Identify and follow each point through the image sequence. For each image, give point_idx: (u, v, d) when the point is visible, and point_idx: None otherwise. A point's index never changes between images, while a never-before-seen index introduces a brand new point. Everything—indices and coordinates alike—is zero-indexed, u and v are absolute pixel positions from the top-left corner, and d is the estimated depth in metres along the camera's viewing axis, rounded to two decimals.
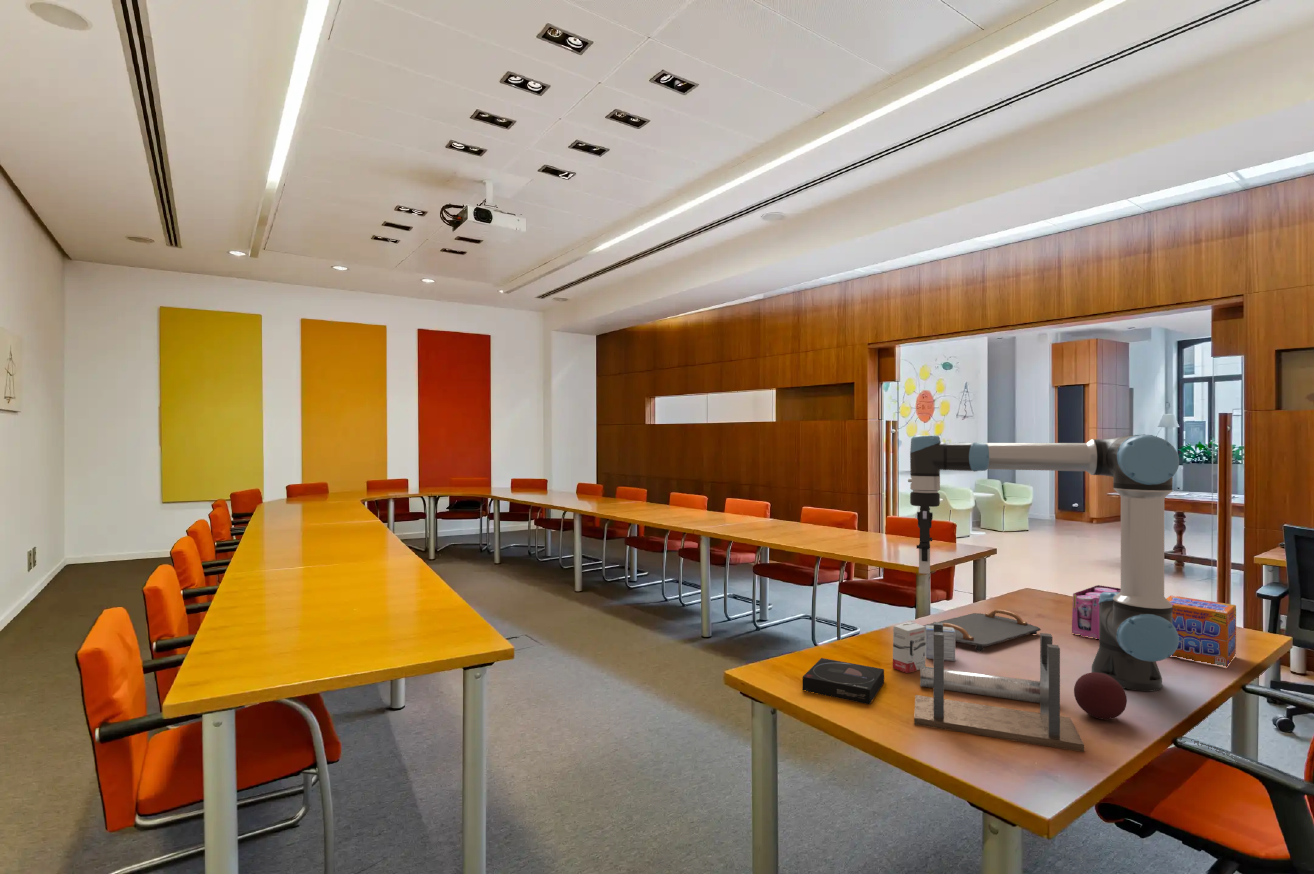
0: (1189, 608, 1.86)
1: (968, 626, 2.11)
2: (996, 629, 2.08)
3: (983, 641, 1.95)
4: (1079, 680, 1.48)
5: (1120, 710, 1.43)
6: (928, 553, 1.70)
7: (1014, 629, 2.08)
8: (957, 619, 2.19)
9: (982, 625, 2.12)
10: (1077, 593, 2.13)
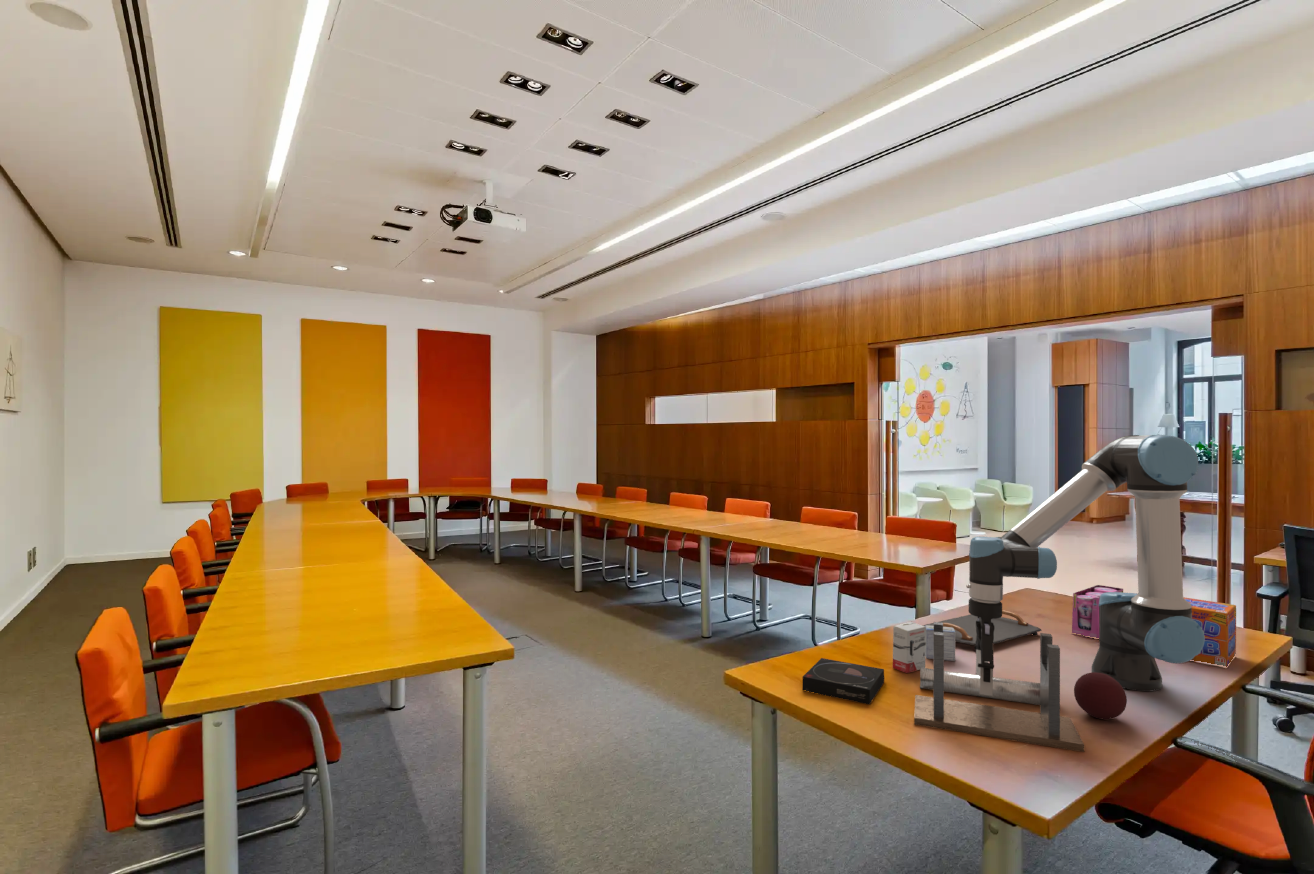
0: None
1: (968, 626, 2.11)
2: (996, 629, 2.08)
3: None
4: (1079, 680, 1.48)
5: (1120, 710, 1.43)
6: (991, 673, 1.54)
7: (1014, 629, 2.08)
8: (958, 619, 2.19)
9: None
10: (1077, 593, 2.14)
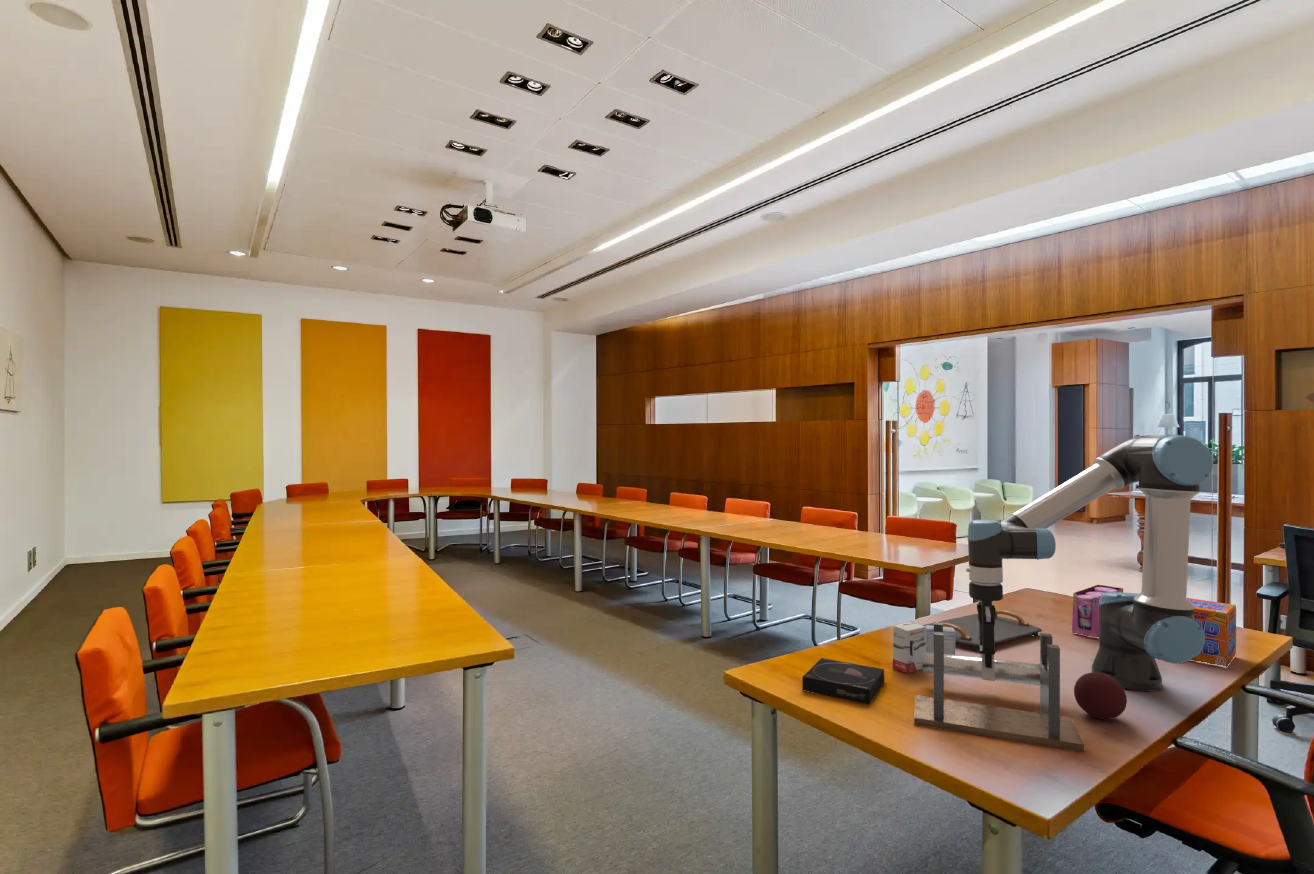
0: None
1: (968, 626, 2.11)
2: (996, 629, 2.07)
3: None
4: (1079, 680, 1.48)
5: (1120, 710, 1.43)
6: (992, 658, 1.57)
7: (1015, 630, 2.07)
8: (958, 619, 2.19)
9: None
10: (1077, 592, 2.14)
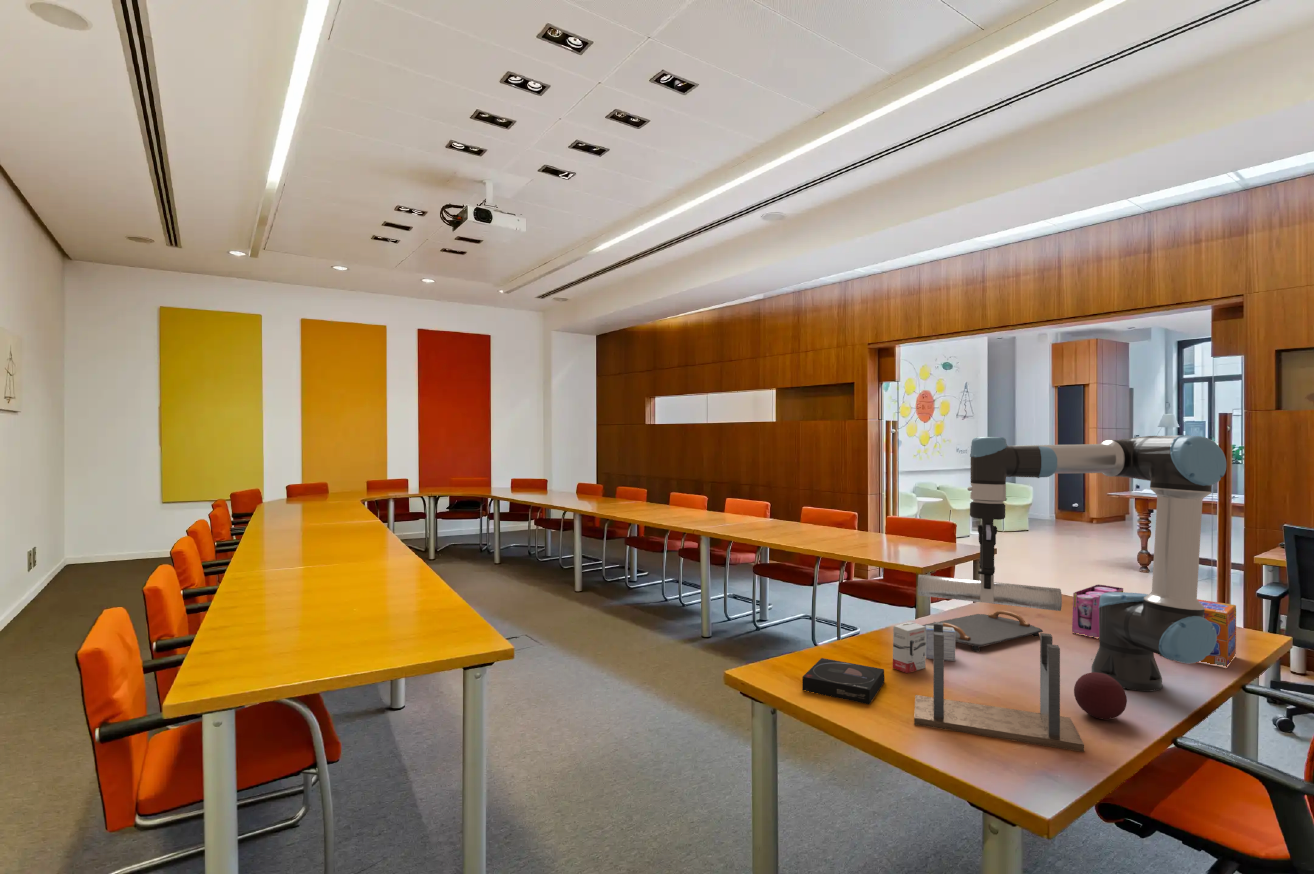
0: None
1: (968, 626, 2.11)
2: (996, 630, 2.07)
3: (980, 641, 1.95)
4: (1079, 680, 1.48)
5: (1120, 710, 1.43)
6: (991, 579, 1.50)
7: (1015, 630, 2.07)
8: (958, 619, 2.19)
9: (983, 626, 2.12)
10: (1077, 592, 2.15)
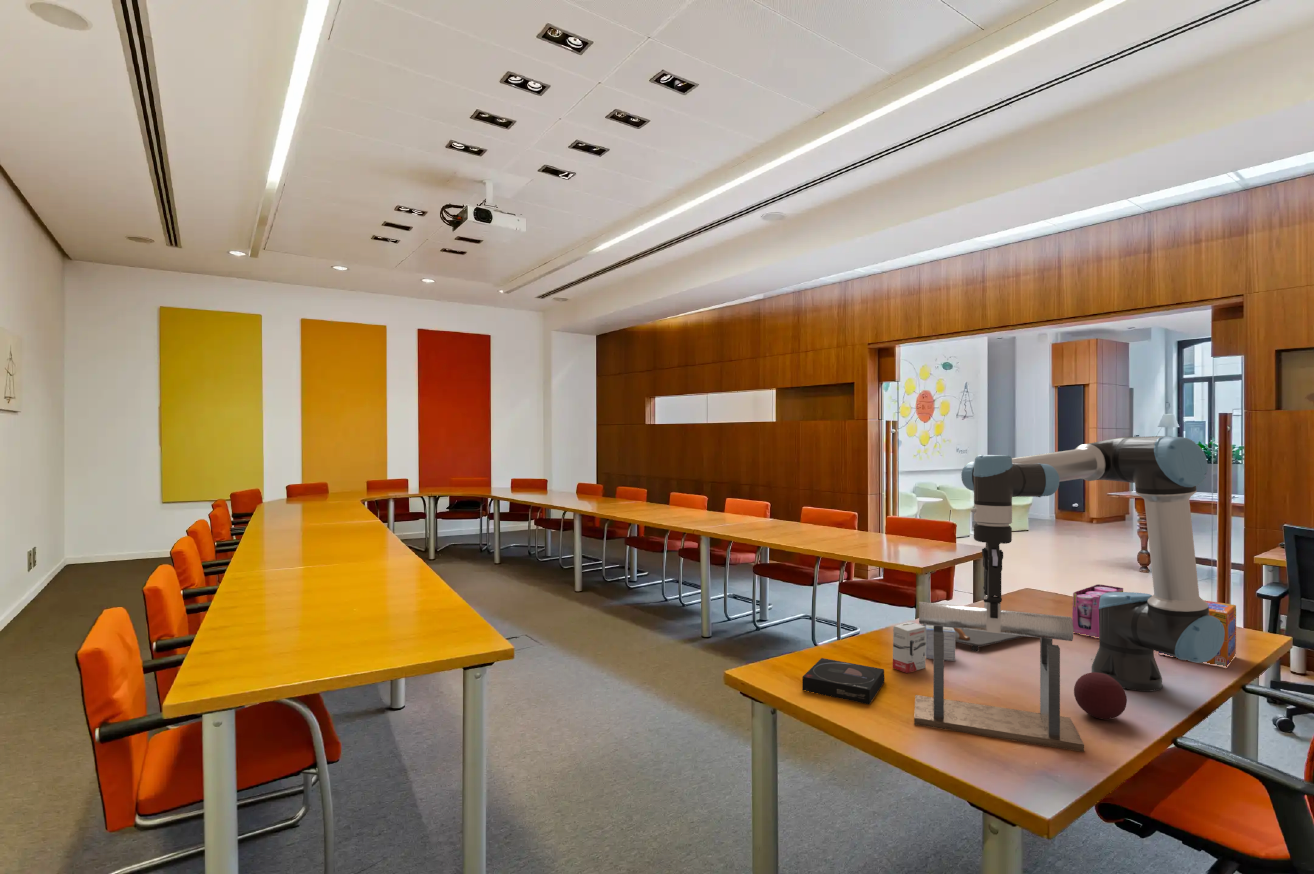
0: None
1: None
2: None
3: (979, 641, 1.95)
4: (1079, 680, 1.48)
5: (1120, 710, 1.43)
6: (998, 608, 1.40)
7: None
8: None
9: None
10: (1077, 592, 2.15)
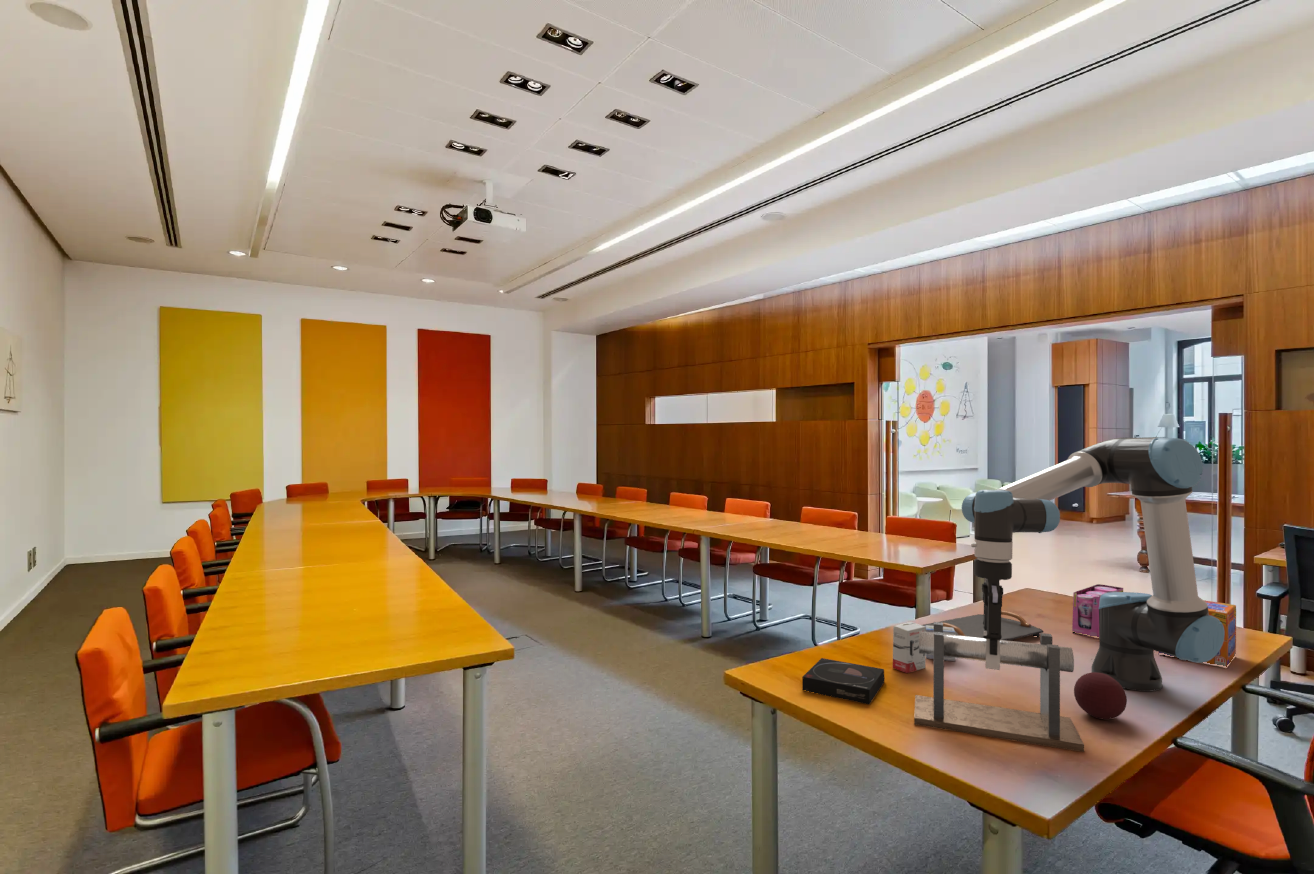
0: None
1: (968, 626, 2.11)
2: None
3: None
4: (1079, 680, 1.48)
5: (1120, 710, 1.43)
6: (998, 645, 1.39)
7: (1015, 630, 2.06)
8: (959, 619, 2.19)
9: (983, 626, 2.11)
10: (1077, 592, 2.15)
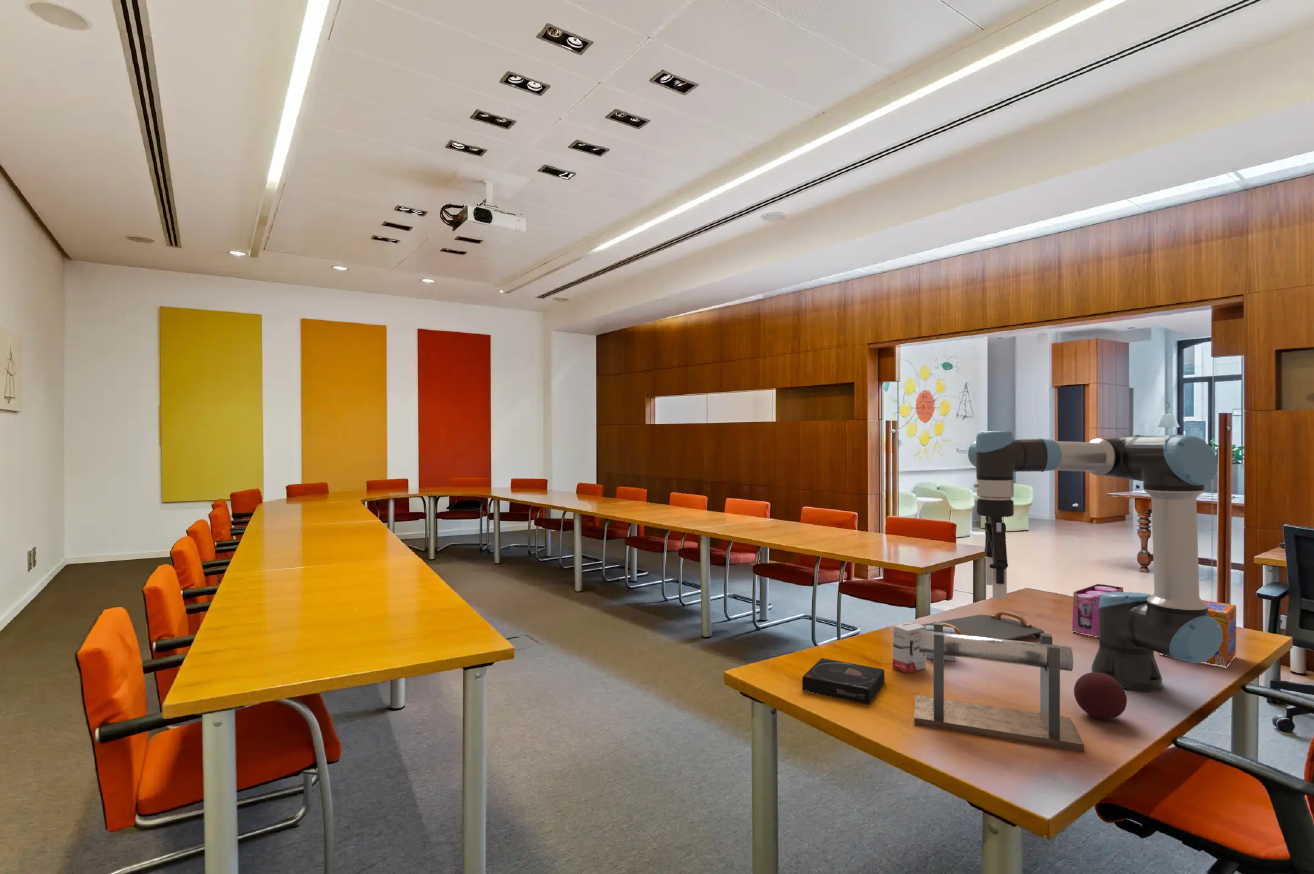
0: None
1: (968, 627, 2.10)
2: (996, 630, 2.06)
3: None
4: (1079, 680, 1.48)
5: (1120, 710, 1.43)
6: (1004, 574, 1.40)
7: (1015, 631, 2.06)
8: (960, 620, 2.19)
9: (983, 626, 2.11)
10: (1077, 592, 2.16)
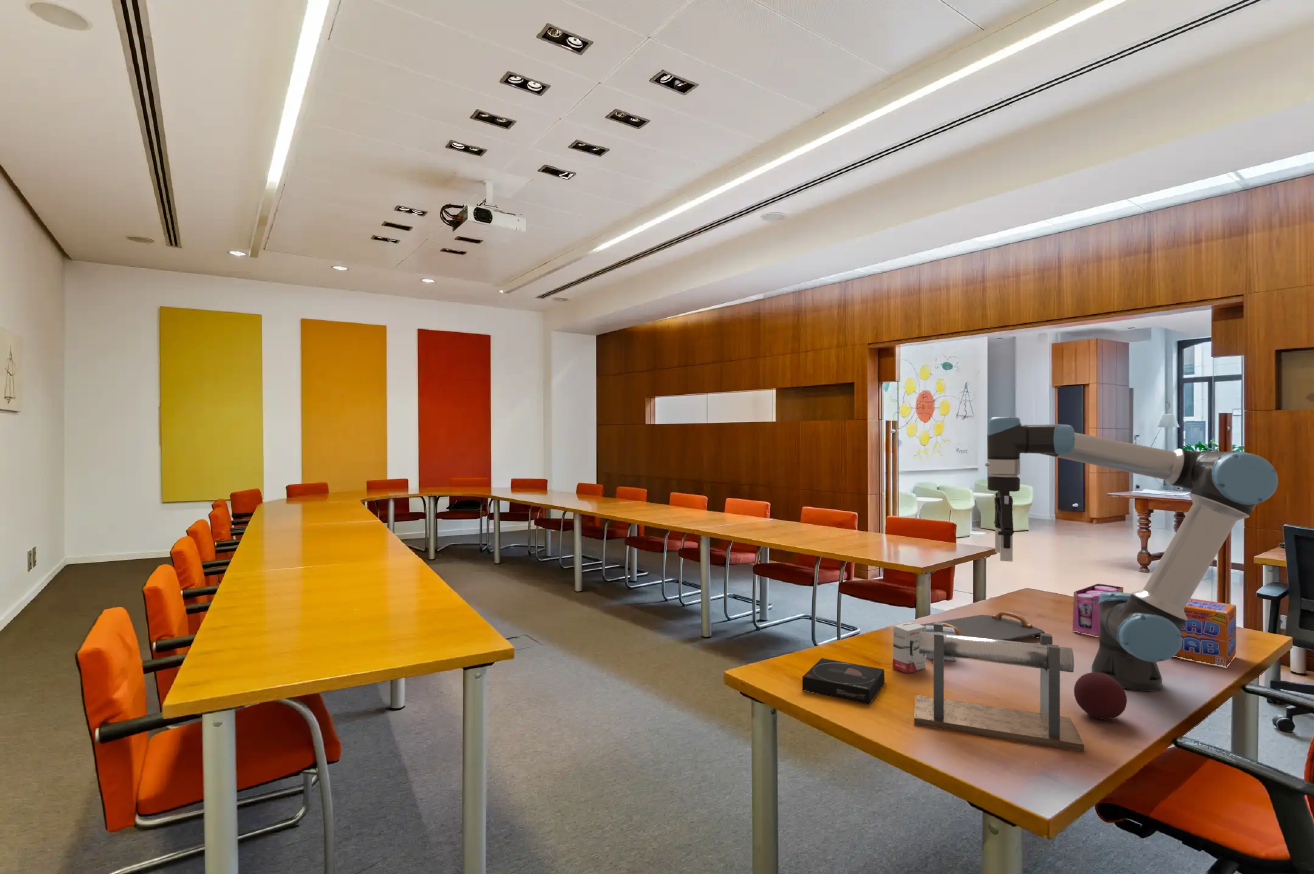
0: (1189, 608, 1.86)
1: (968, 627, 2.10)
2: (996, 630, 2.06)
3: None
4: (1079, 680, 1.48)
5: (1120, 710, 1.43)
6: (1010, 540, 1.62)
7: (1015, 631, 2.06)
8: (960, 620, 2.19)
9: (983, 626, 2.11)
10: (1078, 591, 2.16)
